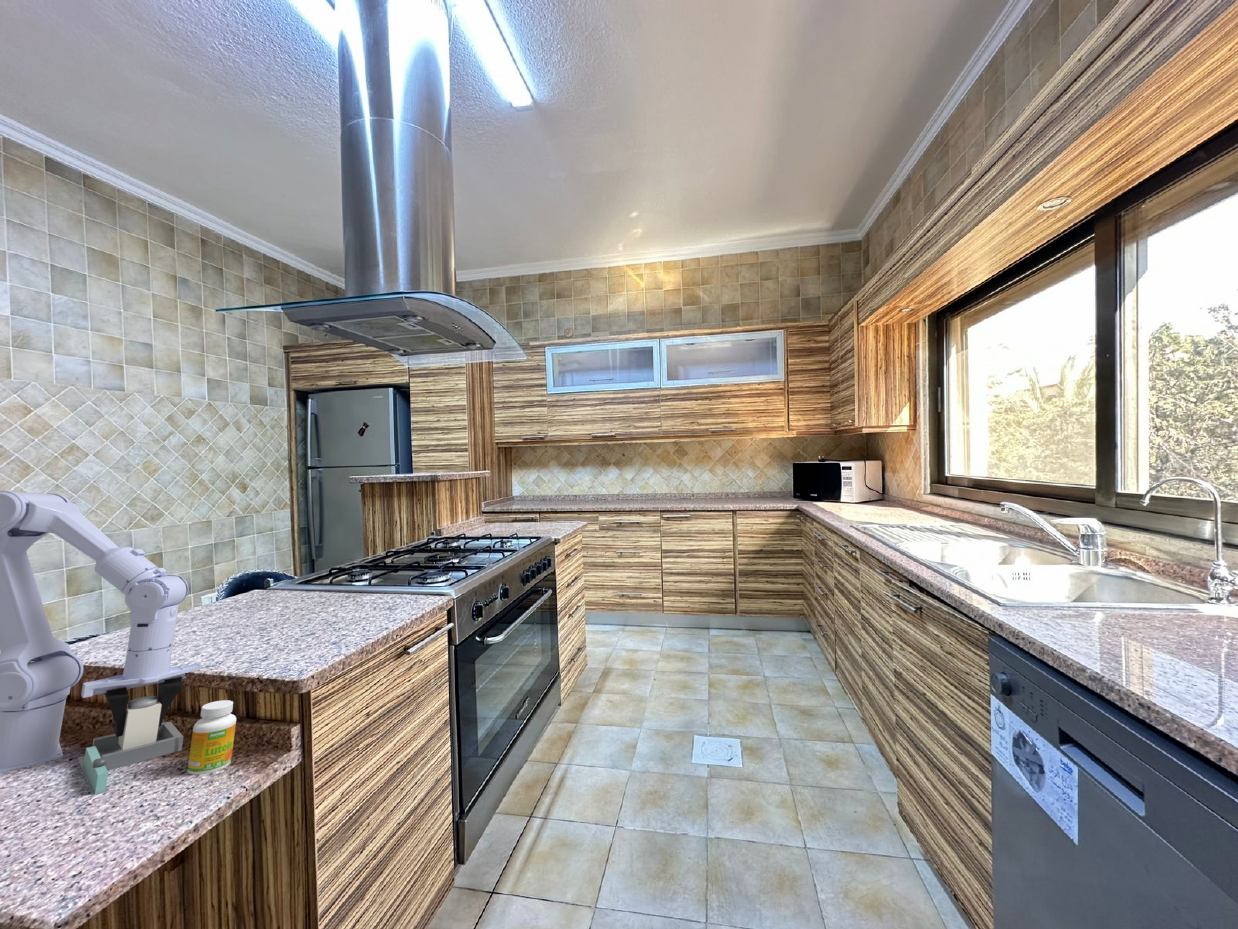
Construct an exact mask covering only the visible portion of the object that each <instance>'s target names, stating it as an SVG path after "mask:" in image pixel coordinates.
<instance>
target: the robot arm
mask: <svg viewBox="0 0 1238 929" xmlns="http://www.w3.org/2000/svg"><path fill="white" fill-rule="evenodd" d="M49 534H54V535H56V536H57V537H59V538H61V540H63V541H65V542H66V543H68V544H69V545H71V546H73V547H74V548H75V549H77V550H78V551H80V552H82V553H83V554H85V556H88V557H89V558H90V559H92V560H93V561H94V562H95V566H94V572H95V573H96V574H97V575H98V576H100V577H101V578H102V579H104V580H105V581H106V582H108V583H109V584H111V585H112V586H113V587H114V588H116V589H117V590H118V591H119V592H121V593H122V594H124V595H125V596H124V600H125V602H124V603H125V604H126V607H127V608H128V609H129V610H130V619H129V620H131V624H130V629H129V635H128V643H127V648H126V655H125V660H124V661H125V662H124V668H123V674H119V675H115V676H110V677H106V678H102V679H98V680H97V679H96V680H93V681H87V682H83V683H82V689H81V693H80V695H81V698H83V699H86V698H90V697H93V696H95V695H101V694H103V695H104V697H105V699H106V701H107V703H108V705H109V708H110V710H111V713H112V714H111V715H112V717H113V724H114V734H115V735H116V737H119V736H123V732H124V724H125V714H126V709H127V704H129V701H130V697H131V696H130V695H129V691H128V690H127V689H132V688H139V687H144V686H149V685H155V684H157V695H156V696H157V697H158V701H159V702H160V703H161V705H162V706H161V712H160V719H159V726H158V727H161V725H162V723H163V722H164V718H165V716H166V715H167V712H168V710H169V708H170V706H171V704H172V702H174V699H176V696H177V695H178V694H179V692H180V691H181V689H182V687H183V686H184V681H183V679H187V678H186V676H185V673H189V672H192V671H194V670H197V669H200V668H202V669H203V665H202V664H201V663H193V664H187V665H185V664H184V665H177V666H176V665H175V666H171V661H172V655H173V654H172V653H173V647H174V640H175V634H176V627H177V619H178V614H179V613H178V612H179V605H180V604H182V603H183V602H184V601H185V600H186V598H187V597H188V594H189V585H188V583H187V581H186V580H185V579H184V578H183V576H182V575H180V574H176V573H175V574H173V573H172V574H169V573H166V572H167V570H166V569H165V568H164V567H158V566H157V565H156V564H155V563H153V562H152V561H150V560H149V559H148V558H146V557H145V556H144V555H145V554H146V552H145V551H144V550H143V549H141V548H135V547H131V546H123V547H122V546H121V547H119V546H118V545H117V544H116V543H115V542H113V540H111V539H110V537H108V536H107V535H106V534H105V533H103V531H102V530H100V529H99V528H98V527H97V526H96V525H95V524H94V523H92V522H91V520H90V519H88V518H87V517H86V516H85V515H84V514H82V512H81V509H80V507H79V505H77V504H75V503H74V502H71V501H70V500H69V499H68V497H66V496H65V495H62V494H58V493H55V492H54V493H48V492H47V493H39V492H38V493H37V492H21V491H20V492H19V491H12V490H5V489H3V490H2V489H1V490H0V774H3V773H6V772H11V771H14V770H19V769H23V768H26V767H31V766H35V765H39V764H44V763H48V762H51V761H55V760H59V759H63V757H64V754H63V750H62V747H61V745H60V736H61V731H62V724H63V720H64V713H65V709H66V708H65V707H66V702H67V696H68V695H70V692H71V688H72V687H74V686H75V685H77V684H78V682H80V680H81V678H82V677H83V673H84V665H83V661H82V660H81V659H80V658H79V657H78V656H77V655H75V654H74V652H73V651H72V649H71V646H70V644H69V643H68V642H65V641H63V640H60V639H58V638H56V637H54V636H53V633H52V629H51V626H50V624H49V620H48V617H47V613H46V611H45V607H44V604H43V600H42V598H41V594H40V591H39V587H38V585H37V581H36V579H35V575H34V572H33V569H32V566H31V562H30V560H29V556H28V553H27V552H28V550H29V549H30V548H31V547H32V546H33V545H34V544H35V543H36V542H38V541H39V540H41V539H43V538H44V537H46V536H47V535H49ZM29 662H31V663H29Z"/></svg>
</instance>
